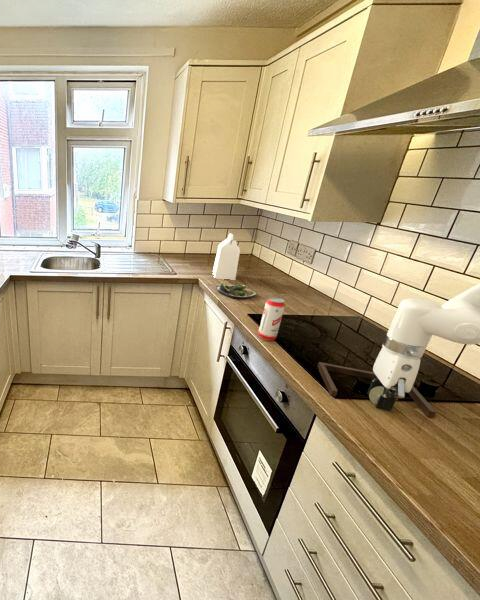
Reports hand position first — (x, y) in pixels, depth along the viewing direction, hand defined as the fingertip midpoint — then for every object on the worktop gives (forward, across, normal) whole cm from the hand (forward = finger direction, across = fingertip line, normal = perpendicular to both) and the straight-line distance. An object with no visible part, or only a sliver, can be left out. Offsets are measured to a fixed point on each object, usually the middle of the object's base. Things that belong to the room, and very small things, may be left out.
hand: (378, 401), depth 88 cm
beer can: (+1, +30, +24) cm, 39 cm away
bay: (+1, +6, 0) cm, 6 cm away
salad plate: (0, +78, +35) cm, 85 cm away
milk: (0, +107, +40) cm, 114 cm away
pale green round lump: (+1, 0, 0) cm, 1 cm away
